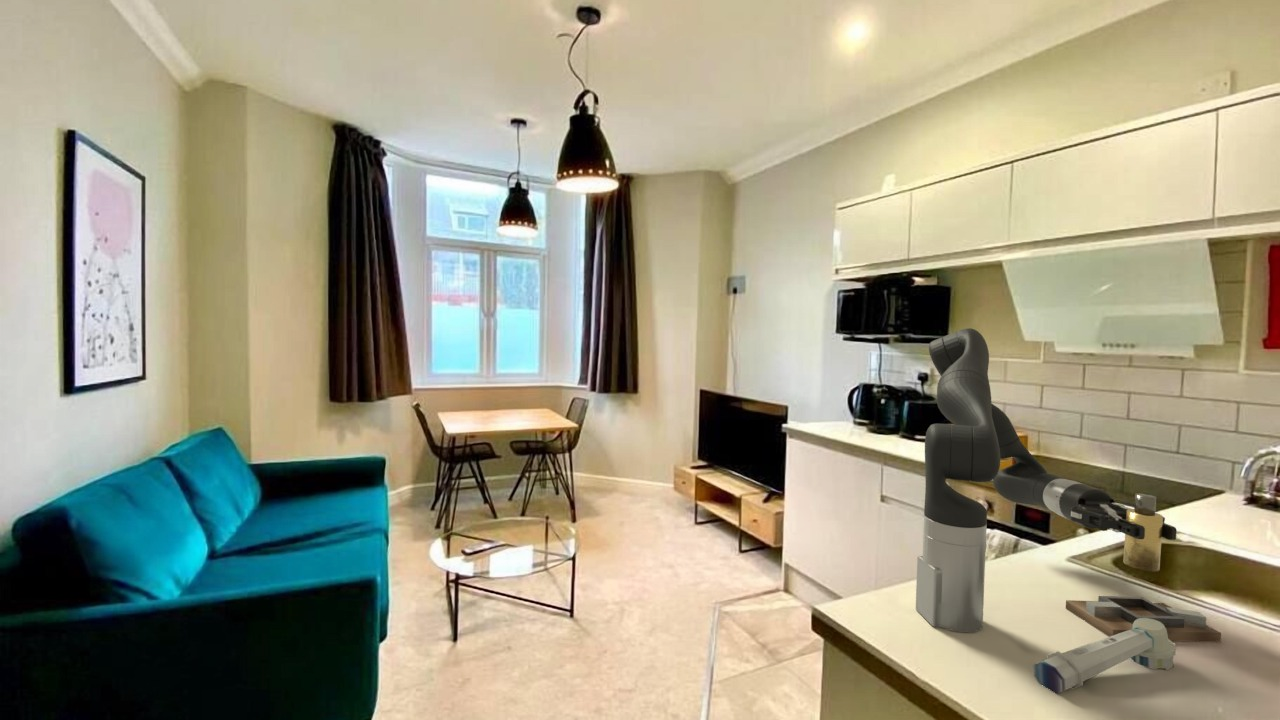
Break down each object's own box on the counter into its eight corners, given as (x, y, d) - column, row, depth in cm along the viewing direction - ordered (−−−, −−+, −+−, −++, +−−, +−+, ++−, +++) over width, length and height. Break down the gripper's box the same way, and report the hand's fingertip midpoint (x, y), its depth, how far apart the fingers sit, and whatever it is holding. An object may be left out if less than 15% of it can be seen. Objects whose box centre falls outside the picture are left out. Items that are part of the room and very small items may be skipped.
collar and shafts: (1108, 625, 89) (1109, 614, 89) (1072, 603, 97) (1073, 593, 97) (1210, 628, 89) (1211, 617, 89) (1166, 606, 96) (1167, 596, 96)
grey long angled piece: (1027, 652, 77) (1141, 603, 85) (1029, 697, 77) (1143, 644, 85) (1066, 674, 72) (1184, 620, 80) (1069, 721, 72) (1185, 663, 80)
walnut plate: (1112, 638, 88) (1113, 629, 88) (1065, 608, 98) (1065, 600, 98) (1220, 642, 87) (1221, 632, 87) (1162, 611, 97) (1162, 602, 97)
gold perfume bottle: (1139, 571, 90) (1144, 499, 90) (1116, 559, 95) (1120, 491, 94) (1167, 571, 90) (1172, 500, 90) (1142, 560, 95) (1146, 491, 94)
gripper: (1041, 482, 106) (1115, 510, 89) (1115, 483, 106) (1204, 512, 89) (1039, 520, 107) (1112, 555, 90) (1113, 522, 107) (1201, 557, 89)
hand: (1158, 533), depth 90 cm, fingers closed on gold perfume bottle, 4 cm apart
